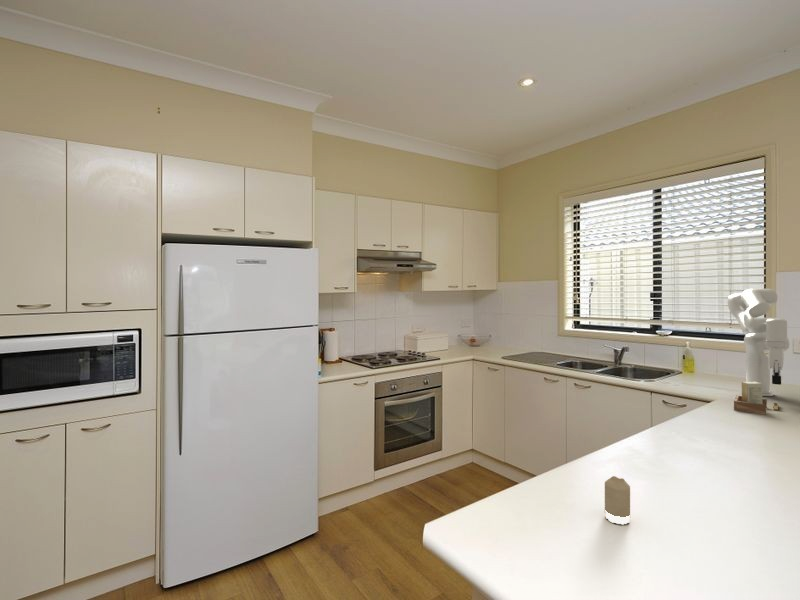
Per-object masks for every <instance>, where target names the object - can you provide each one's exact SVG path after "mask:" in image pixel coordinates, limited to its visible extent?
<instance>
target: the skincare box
mask: <svg viewBox="0 0 800 600" xmlns="http://www.w3.org/2000/svg"><path fill="white" fill-rule="evenodd" d="M741 396H742V402H749V403H757V404H762V399H763V396H762V383H758V382H746V381H741Z"/></svg>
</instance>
